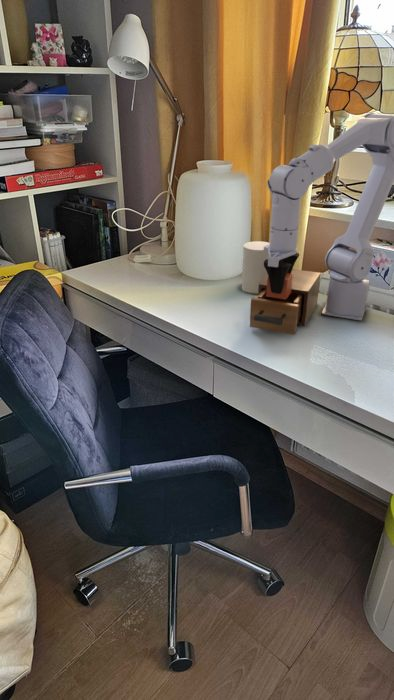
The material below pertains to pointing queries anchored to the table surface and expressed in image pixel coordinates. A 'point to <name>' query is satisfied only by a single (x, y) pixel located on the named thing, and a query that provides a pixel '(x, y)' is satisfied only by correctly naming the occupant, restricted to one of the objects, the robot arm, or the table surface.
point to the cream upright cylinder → (253, 265)
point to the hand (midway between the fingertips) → (279, 288)
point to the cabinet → (302, 290)
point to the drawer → (276, 312)
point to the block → (285, 290)
